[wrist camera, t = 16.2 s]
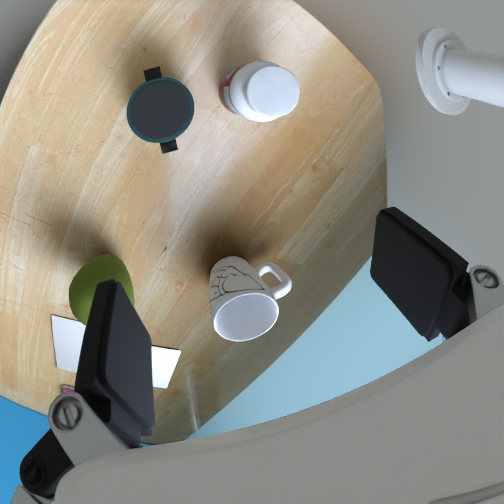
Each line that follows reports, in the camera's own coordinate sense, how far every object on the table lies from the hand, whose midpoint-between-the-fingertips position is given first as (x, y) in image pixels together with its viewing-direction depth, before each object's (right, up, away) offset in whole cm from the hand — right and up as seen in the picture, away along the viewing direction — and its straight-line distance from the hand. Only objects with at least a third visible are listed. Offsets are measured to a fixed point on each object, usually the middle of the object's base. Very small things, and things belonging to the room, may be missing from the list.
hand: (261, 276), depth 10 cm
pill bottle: (-1, +20, +20) cm, 28 cm away
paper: (-26, -19, +36) cm, 49 cm away
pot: (-11, +17, +19) cm, 28 cm away
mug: (-2, -2, +34) cm, 34 cm away
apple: (-20, -1, +27) cm, 34 cm away
